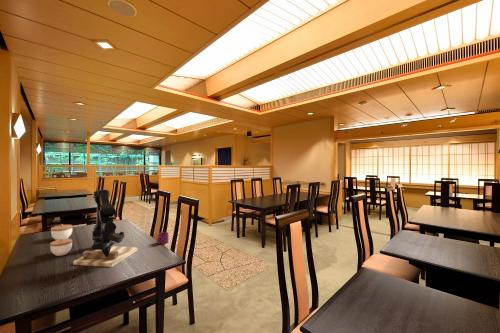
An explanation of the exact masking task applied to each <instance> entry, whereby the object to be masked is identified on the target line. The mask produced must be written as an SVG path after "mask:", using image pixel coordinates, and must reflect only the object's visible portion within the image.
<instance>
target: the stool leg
mask: <svg viewBox="0 0 500 333" xmlns="http://www.w3.org/2000/svg"><path fill="white" fill-rule="evenodd" d="M82 257H83V258H106V259H116V258H117V257H118V251H110V252H109V255H108V257H106V256H105V255H104V253H103V252H102V251H95V250H85V251H83V252H82Z"/></svg>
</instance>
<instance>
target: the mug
mask: <svg viewBox="0 0 500 333" xmlns="http://www.w3.org/2000/svg"><path fill="white" fill-rule="evenodd" d="M156 241H157V242H156V243H158V244H159V245H167V244H168V243H169V232H166V231H163V232H159V233H158V236H157V239H156Z"/></svg>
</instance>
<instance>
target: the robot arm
mask: <svg viewBox="0 0 500 333" xmlns="http://www.w3.org/2000/svg"><path fill="white" fill-rule="evenodd" d="M92 195H93V196H92V197H93V199H94V202H95V204H96V223H95V225H94V226H93V230H92V231H91V240H92V241H93V244H92V245H91V251H95V250H102V252H103V253H104V255H105V256H106V257H108V255H109V252H110V249H111V247H112V246H115V244H120V243H121V242H123V240H124V238H125V237H126V236H125V232H124V231H120V232H116V230H117V224H116V223H115V222H114V221H115V220H117V218H118V214H117V210H116V208H115V207H114V205H113V204H112V203H110V196H111V195H110V191H109V190H108V189H100V190H95V191H94V192H93V194H92Z"/></svg>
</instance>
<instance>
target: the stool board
mask: <svg viewBox="0 0 500 333" xmlns="http://www.w3.org/2000/svg"><path fill="white" fill-rule="evenodd" d="M138 248H139V247H136V246H135V247H134V246H119V245H117V246H116V245H112V247H111V249H110V251H118V257H117V258H116V259H106V258H83V256H80V257H79V258H76V259H75V260H73V265H74V266H89V267H91V266H92V267H104V268H105V267H107V268H108V267H109V268H112V267H114V266H115V265H117V264H119V263H120V262H121V261H123V260H125V259H126V258H128V257H129V256H132V255H133V254H134V253H135V252H138V250H139V249H138ZM94 251H102V250H94Z"/></svg>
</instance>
